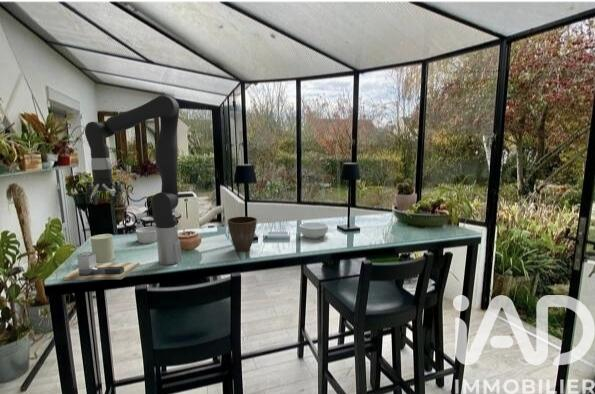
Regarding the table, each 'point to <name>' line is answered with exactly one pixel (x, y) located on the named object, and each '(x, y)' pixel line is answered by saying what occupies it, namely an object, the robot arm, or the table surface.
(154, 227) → the ramekin
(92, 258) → the grey pocketed block
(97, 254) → the cream cylinder
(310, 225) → the cereal bowl
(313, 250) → the table surface
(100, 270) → the ratchet
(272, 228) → the table surface
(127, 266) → the board
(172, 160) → the robot arm
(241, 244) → the plant pot
